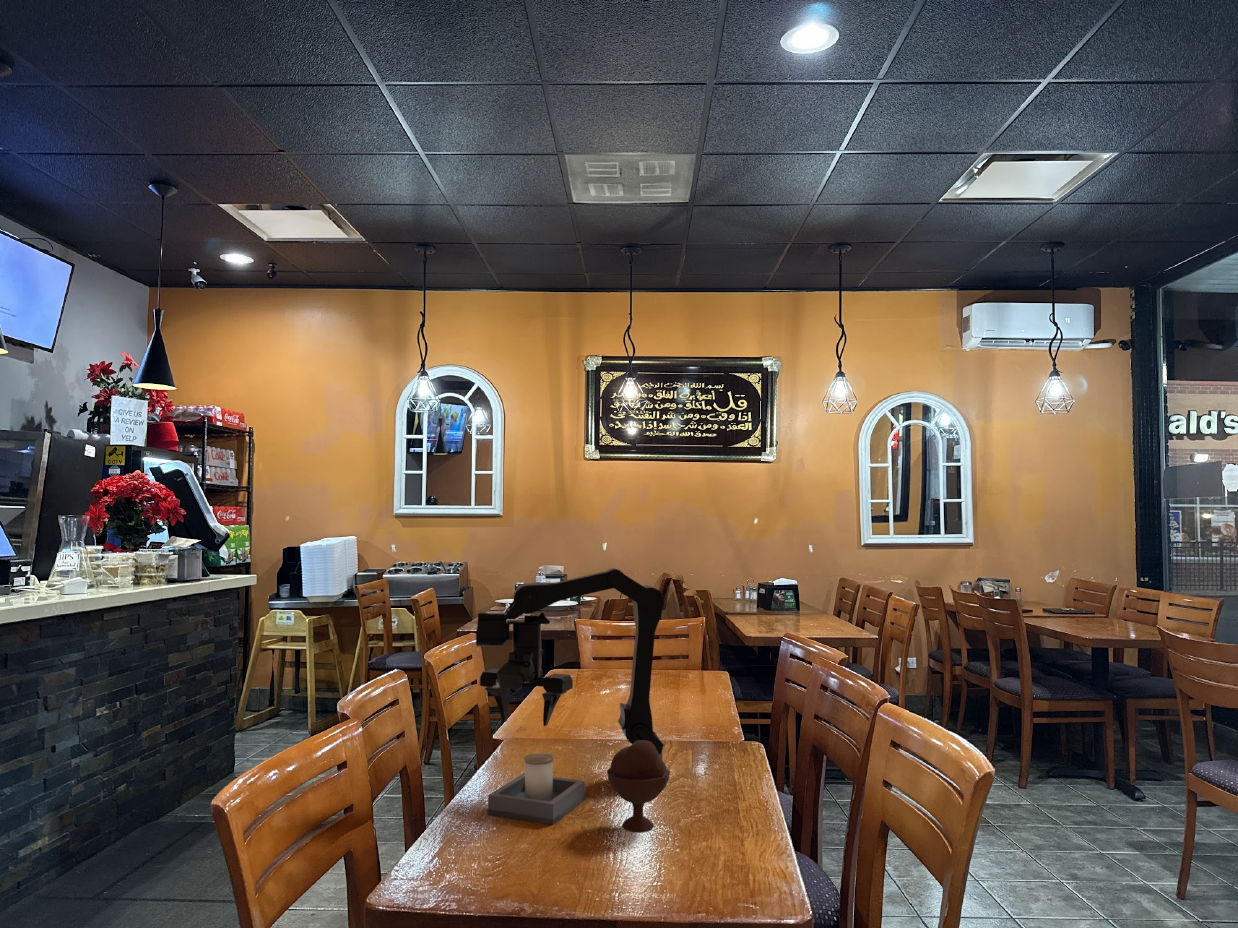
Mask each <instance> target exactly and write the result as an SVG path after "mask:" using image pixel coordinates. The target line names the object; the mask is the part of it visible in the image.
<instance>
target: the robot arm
mask: <svg viewBox="0 0 1238 928" xmlns="http://www.w3.org/2000/svg"><path fill="white" fill-rule="evenodd" d="M610 589H614V590H616V591H617V592H619V593H620V594H622V595H624V596H625V597H627V598H628V599H630V600H631V601H632V602H631V603H632V612H633V620H634V625H635V626H634V627H635V634H634V645H633V655H632V656H633V657H632V667H631V676H630V677H631V679H630V689H629V695H628V699H627V701H626V703H623V702H620V703H619V711H620V716H619V718H618V720H617V723H618V724H619V726H620V728H621V729H620V730H621V731H622V734H623V735H624V737H625V738H626V740H627V741H628V743H630V744H631V745H632V744H633V743H634V742H635V741H637V740H647V741H650V742H652V744H653V745H654V746H655V747H656V749H657V751H658V754H659V758H660V759H661V760H663V750H664V749H663V748H664V747H665V746H664V742H662V740H661V739H660V737H659V735H657V733H656V732H655V731H654V728H653V726H654V725H653V715H652V709H651V703H650V702H651V701H650V693H651V684H652V683H651V682H652V671H653V669H652V668H653V661H654V659H653V658H654V649H655V648H654V647H655V637H656V630H657V627H658V625H659V623H660V620H661V617H662V614H663V610H664V606H665V598H664V595H663V594H662V592H661V591H660V590H659V589H657V588H655V587H654V586H650V585H647V584H646V585H642V584H640V583H639V582H637V581H636V580H634V579H632V578H631V577H629V576H628V575H626V574H624V572H623V571H621V570H620V569H618V568H609V569H608V570H604V571H600V572H596V573H592V574H586V575H583V576H577V577H573V578H569V579H565V580H561V581H554V582H531V583H527V582H526V583H522V584H521V585H519V586H517V587H516V589H515V591H514V592H513V597H512V598H513V600H512V602H511V603H510V604H509V606H508V607H506V608H505V611H504V612H496V613H494V612H486V611H479V612H478V613H477V627H476V630H475V631H476V632H475V636H476V637H475V646H476V647H504V645H505V643H507V642H509V641H510V625H512V647H511V648H512V649H511V651H509V653H508V660H507V662H506V663H504V664H503V665H502V666H501V667H499V668H491V669H487V670H484V671H482V673H481V674H480V676H479V682H478V684H479V685H478V686H479V687H484V689H485V691H487V692H489V693H490V694H491V696H492V695H493V698H494V700H495V701H496V705H497V707H498V710H499V714H500V716H501V720H502V722H504V723H505V722H508V718H509V717H508V716H509V707H510V696H511V694H510V693H511V689H512V690H515V691H516V690H520V689H521V688H522V687H523V686H532V687H543V690H544V691H545V692H543V693H542V694H541V695H542V699H543V716H542V723H543V726H544V727H546V726H548V724H549V723H550V720H551V717H552V716H553V712H554V709H555V707H556V705H557V703H558V701H559V700H560V698H561V696H562V695H563V694H566V693H567V691H569V690H572V689H574V688H573V687H574V686H573V683H574V681H573V678H572V676H571V674H566V673H553V674H549V675H548V676H545V677H544V676H543V675H544V673H543V672H544V671H543V669H541V656H542V655H544V649H541V645H542V644H541V643H542V642H541V641H542V640H541V639H542V637H541V636H542V635H541V634H542V625H549V624H550V623H551V620H550V619H549V618H548V617H547V616H546V615H545V613H544V612H543V611H540V610H543V609H546V608H547V607H549V606H551V605H554V604H555V603H558V602H560V601H564V600H567V599H573V598H577V597H580V596H585V595H590V594H594V593H598V592H603V591H607V590H610ZM538 611H540V612H539V614H533V613H536V612H538ZM524 614H525V615H524ZM529 614H530V615H529ZM522 615H524V616H523V619H518V618H519V617H520V616H522Z"/></svg>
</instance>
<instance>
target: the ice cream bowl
mask: <svg viewBox="0 0 1238 928" xmlns="http://www.w3.org/2000/svg"><path fill="white" fill-rule="evenodd" d="M606 772H607V773H606V774H607V779H608V782H609V784H610V786H611V788H612V789H613V790H614V791H615V792H616V794H618V796H619V797H620V798H621V799H623V800H624V801H625V802H629V803H631V804H632V808H633V810H632V811H633V812H632V816H630V817H629V818H627V819H625V820H624V821H623V822H622V825H621V826H622V828H623V830H625V831H628V832H632V833H645V832H649V831H651V830H652V829H654V827H655V826H654V823H653V821H652V820H650V819H649V818H647V817H645V816H644V806H645V804H646V803H649V802H651V801H653V800H655V799H656V798H657V797H658V796H659V795H660V793H662V792H663V790H664V789H666V787H667V784H668V782H669V779H670V774H671V771H670V770H669V769H668V767H667V766H666V764H665V762H664V760H663V759H662V760H661V759H660V758H659V754H658V751H657V749H656V747H655V746H654V745H653V744H652V742H650V741H647V740H637V741H635V742H634V743H633V744H631V745H629V746H625V747H623V748H620V749H619V750H618V751H617V752H616V753H615V754H614V756H613V757H612V759H611V762H610V767H609V769H606ZM652 831H653V830H652Z"/></svg>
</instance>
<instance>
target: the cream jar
mask: <svg viewBox="0 0 1238 928" xmlns="http://www.w3.org/2000/svg"><path fill="white" fill-rule="evenodd" d="M523 761H524V773H525V798H531V799H538V800H545V801H551V800H553V777H554V768H553V763H554V756H553V755H552V754H550V753H544V752H543V753H540V752H539V753H532V754H528V755H526V756H524V758H523Z"/></svg>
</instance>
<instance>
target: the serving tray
mask: <svg viewBox="0 0 1238 928" xmlns="http://www.w3.org/2000/svg"><path fill="white" fill-rule="evenodd" d="M585 783H586V781H584V780H581V779H580V780H579V779H573V778H564V777H558V776H553V800H551V801H545V800H538V799H531V798H525V772H523V773H522V774H520V775H518V776H516V778H514V779H512V780H510V781H508V782H507V783H505V784H504V785H502V786H500V787H499V788H497V789H496V790H494V791H492V792H491V793H489V794H488V796H487V797H488V801H487V803H488V805H487V815H489V816H494V817H500V818H506V819H507V818H508V819H513V820H519V821H520V820H521V821H525V822H531V823H532V822H533V823H539V824H544V825H551V826H554V825H555V824H556V823H558V822H559V821H560V820H561V819H563V817H565V816H566V815H567V814H568V813H570V812H571V811H572V810H574V809H575V808H577V806H579V804H581V803H583V802H584V801H585V788H586V787H585Z"/></svg>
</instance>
